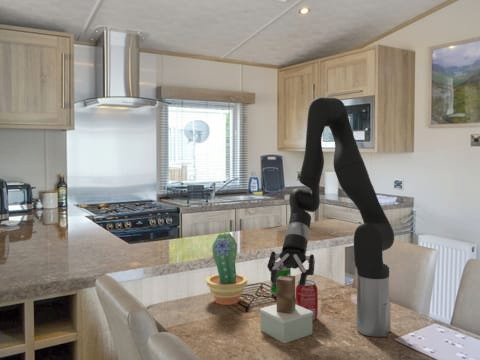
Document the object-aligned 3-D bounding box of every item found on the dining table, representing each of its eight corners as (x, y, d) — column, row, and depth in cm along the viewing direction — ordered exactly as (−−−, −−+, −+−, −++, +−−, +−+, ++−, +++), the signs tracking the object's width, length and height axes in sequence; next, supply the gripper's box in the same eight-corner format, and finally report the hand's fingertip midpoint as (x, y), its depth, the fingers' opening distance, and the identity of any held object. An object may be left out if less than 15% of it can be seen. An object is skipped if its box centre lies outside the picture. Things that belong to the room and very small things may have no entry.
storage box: (313, 334, 128) (313, 311, 128) (284, 344, 122) (283, 320, 122) (288, 322, 138) (288, 301, 137) (259, 331, 131) (259, 308, 131)
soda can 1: (271, 290, 168) (271, 260, 168) (290, 291, 167) (290, 261, 167) (270, 297, 161) (270, 265, 160) (290, 298, 160) (290, 266, 159)
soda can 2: (304, 312, 145) (304, 277, 144) (322, 318, 140) (322, 282, 139) (291, 318, 140) (291, 282, 140) (309, 324, 135) (309, 287, 135)
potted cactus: (197, 301, 157) (196, 234, 156) (225, 290, 169) (224, 228, 167) (228, 311, 147) (227, 239, 146) (256, 299, 159) (255, 232, 157)
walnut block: (295, 308, 131) (295, 276, 130) (291, 313, 126) (291, 280, 126) (281, 306, 132) (280, 274, 132) (276, 311, 128) (276, 279, 127)
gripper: (272, 231, 139) (261, 276, 129) (316, 234, 134) (308, 280, 124) (277, 244, 145) (267, 288, 135) (319, 247, 139) (312, 292, 129)
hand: (287, 284), depth 129 cm, fingers open, 8 cm apart
